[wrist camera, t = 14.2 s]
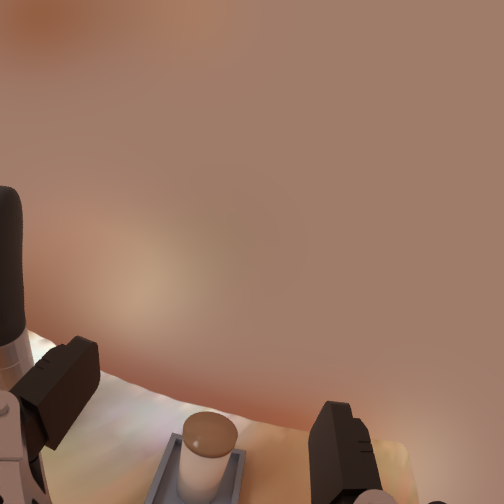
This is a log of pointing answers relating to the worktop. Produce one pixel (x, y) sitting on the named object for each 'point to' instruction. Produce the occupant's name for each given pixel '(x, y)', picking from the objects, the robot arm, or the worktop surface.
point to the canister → (204, 456)
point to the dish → (165, 481)
